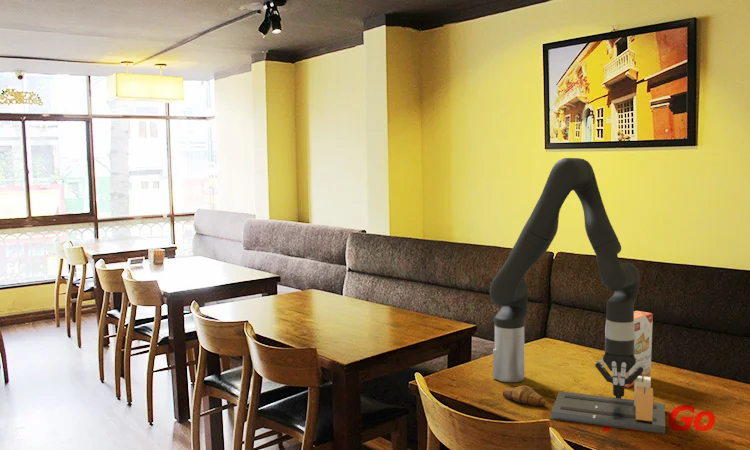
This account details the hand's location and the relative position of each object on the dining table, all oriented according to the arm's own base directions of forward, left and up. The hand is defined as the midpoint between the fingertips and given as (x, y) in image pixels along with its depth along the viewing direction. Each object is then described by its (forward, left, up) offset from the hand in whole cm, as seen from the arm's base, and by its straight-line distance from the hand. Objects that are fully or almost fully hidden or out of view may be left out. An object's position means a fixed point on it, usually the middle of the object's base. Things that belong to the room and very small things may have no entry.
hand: (618, 397), depth 178 cm
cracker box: (+3, +26, -4) cm, 26 cm away
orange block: (+7, -9, -1) cm, 11 cm away
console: (-2, -4, -4) cm, 6 cm away
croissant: (-26, -3, -4) cm, 26 cm away
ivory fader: (+6, 0, -1) cm, 6 cm away
